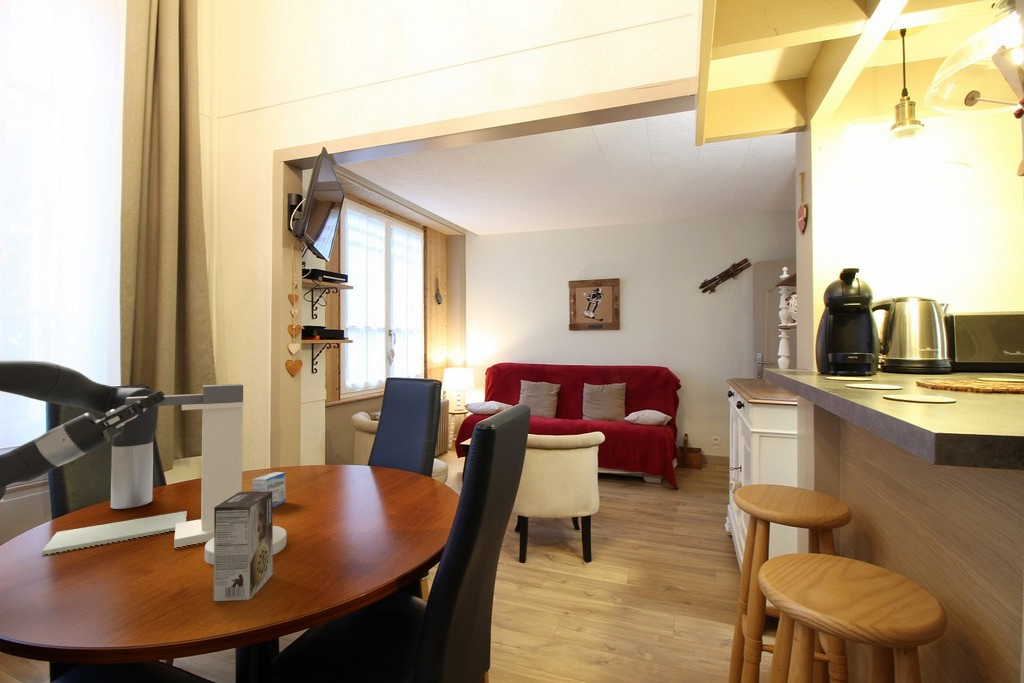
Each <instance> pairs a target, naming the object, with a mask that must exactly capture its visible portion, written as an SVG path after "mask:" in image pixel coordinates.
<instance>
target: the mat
mask: <svg viewBox="0 0 1024 683" xmlns="http://www.w3.org/2000/svg"><path fill="white" fill-rule="evenodd" d="M187 512H188V511H187V510H184V511H178V512H171V513H165V514H159V515H153V516H148V517H140V518H134V519H130V520H129V519H128V520H124V521H117V522H116V521H115V522H111V523H106V524H105V523H104V524H99V525H92V526H87V527H80V528H74V529H69V530H61V531H56V533H55V534H54V535H53V536H52V538H51V539H50V540H49V541H48V543H47V544H46V545H45V547H44V548H43V549H42V551H41V556H42V555H43V556H46V555H45V554H48V555H52V554H51V553H54V554H57V553H56V552H59V553H64V552H63V551H65V552H68V551H67V550H70V551H74V550H73V549H76V550H79V549H78V548H81V549H85V548H84V547H87V548H91V547H90V546H92V547H96V546H95V545H98V546H102V545H101V544H103V545H107V543H109V544H113V543H112V542H114V543H119V542H118V541H120V542H124V541H123V540H125V541H129V540H128V539H131V540H133V539H132V538H136V539H138V538H137V537H142V538H144V537H143V536H147V535H153V534H158V533H164V532H169V531H175V528H176V523H182V522H187V518H186V517H187V516H188V514H187ZM169 533H170V532H169ZM164 534H165V533H164ZM158 535H159V534H158ZM153 536H154V535H153ZM147 537H148V536H147Z"/></svg>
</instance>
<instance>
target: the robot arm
mask: <svg viewBox="0 0 1024 683" xmlns="http://www.w3.org/2000/svg"><path fill="white" fill-rule="evenodd" d="M0 392H2V393H9V394H12V395H13V394H14V395H18V396H22V397H24V398H25V397H26V398H29V399H32V400H37V401H41V402H44V403H45V402H46V403H50V404H51V403H52V404H56V405H60V406H66V407H67V406H68V407H74V408H81V409H86V410H90V411H92V412H94V413H98V414H102V415H104V417H103V418H101V419H98V418H97V417H96V416H95V415H94V414H92V413H91V412H85V413H83V414H81V415H79V416H77V417H74V418H73V419H71V420H69V421H66V422H64V423H63V424H61V425H58V426H55V427H53V428H52V429H50V430H48V431H47V432H45V433H43V434H42V435H40V436H38V437H37V438H34V439H32V440H30V441H28V442H26V443H24V444H21V445H20V446H18V447H16V448H14V449H13V450H10V451H8V452H5V453H2V454H0V502H1V501H2V499H3V498H4V497H5V495H6V490H7V486H10V485H12V484H15V483H25V482H30V481H32V480H35V479H38V478H40V477H42V476H43V475H45V474H47V473H49V472H51V471H54V469H56V468H58V467H60V466H61V467H62V465H65V464H68V463H70V462H73V461H74V460H77V459H79V458H80V457H83V456H84V455H87V454H88V453H90V452H92V451H94V450H95V449H98V448H99V447H101V446H103V445H105V444H107V443H108V442H110V441H111V473H110V474H111V476H110V480H111V481H110V508H111V509H115V510H122V509H123V510H125V509H131V508H136V507H141V506H145V505H148V504H149V503H151V502H153V487H154V486H153V485H154V484H153V481H154V480H153V477H154V475H153V473H154V470H153V469H154V468H153V467H154V436H155V434H156V432H157V428H158V416H159V406H153V405H155V404H157V403H159V402H161V401H163V400H164V399H165V397H164V396H166V395H165V394H164V392H163V390H157V391H155V392H154V391H153V390H152V389H149V388H147V387H146V388H143V387H119V386H118V387H117V386H111V385H108V384H102V383H99V382H96V381H94V380H92V379H90V378H89V377H87V375H84V373H82V372H80V371H77V370H76V369H73V368H70V367H68V366H64V365H60V364H58V363H54V362H50V361H46V360H41V359H40V360H39V359H38V360H36V359H0ZM145 396H148V397H146V398H144V399H142V400H141V401H142V402H141V401H140V400H139V401H136V402H135V403H132V404H131V405H125V399H126V398H127V397H145ZM122 426H123V428H122V430H121V431H120V432H118V433H115V434H114V435H113V436H112V437H110V434H109V432H108V431H107V430H109V429H110V428H111V429H114V430H116V429H118V428H119V429H120V428H121V427H122Z"/></svg>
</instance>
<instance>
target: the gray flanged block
mask: <svg viewBox="0 0 1024 683" xmlns="http://www.w3.org/2000/svg"><path fill="white" fill-rule="evenodd" d="M146 397H148V396H145V397H127V398H126V399H125V405H131V404H132V403H135V402H136V401H139V400H140V401H141V400H142V399H144V398H146ZM164 397H165V399H164V400H163V401H161V402H159V403H157V404H155V405H153V406H158V407H164V406H179V405H180V406H182V405H185V404H215V403H233V402H243V403H244V384H241V383H229V384H228V383H227V384H225V383H224V384H202V393H196V394H195V393H193V394H171V395H165V396H164ZM141 402H142V401H141Z"/></svg>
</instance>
